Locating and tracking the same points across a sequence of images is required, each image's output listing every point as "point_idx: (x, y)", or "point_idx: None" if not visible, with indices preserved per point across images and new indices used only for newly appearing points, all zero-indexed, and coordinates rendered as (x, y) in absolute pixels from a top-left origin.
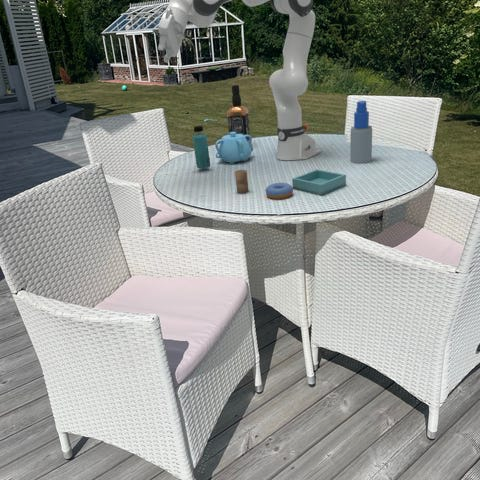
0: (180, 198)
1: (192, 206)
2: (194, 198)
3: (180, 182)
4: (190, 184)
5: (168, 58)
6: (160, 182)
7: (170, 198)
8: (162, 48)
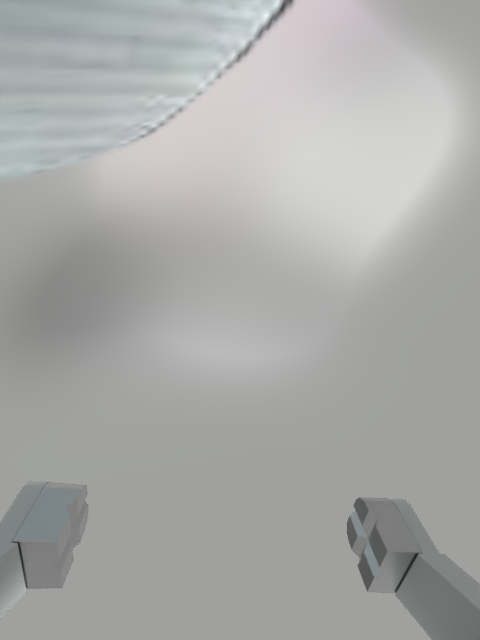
0: (188, 79)
1: (257, 39)
2: (202, 29)
3: (19, 86)
4: (50, 40)
5: (55, 520)
6: (15, 166)
7: (180, 111)
8: (404, 501)
